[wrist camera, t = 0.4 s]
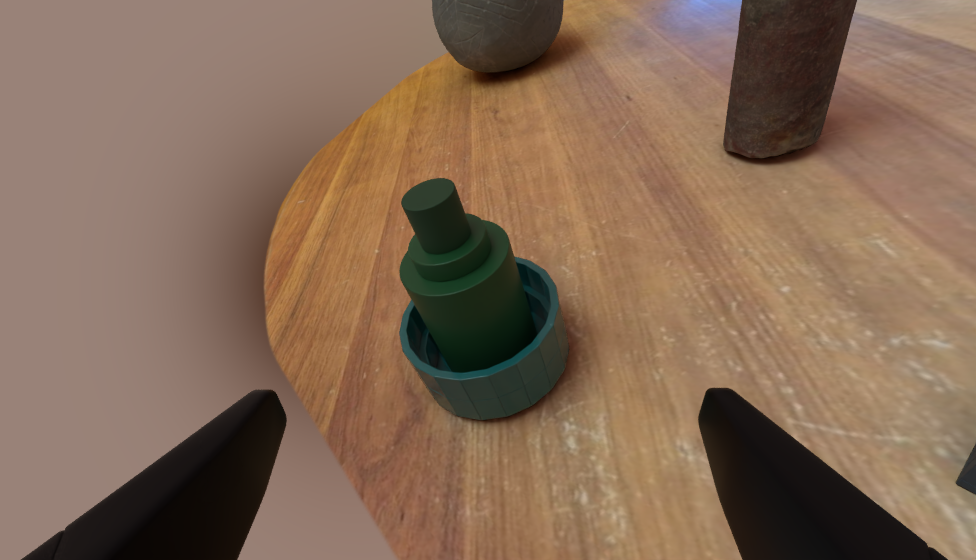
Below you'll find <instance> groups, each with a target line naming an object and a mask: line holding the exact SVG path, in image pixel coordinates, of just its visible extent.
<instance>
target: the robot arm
mask: <svg viewBox="0 0 976 560" xmlns="http://www.w3.org/2000/svg"><path fill="white" fill-rule="evenodd" d="M286 421H287V420H286V414H285V411H284V409H283V407H282V405H281V403H280V400H279V398H278V396H277V394H276V392H274V391H273V390H254V391H252V392H250V393H248V394H247V395H246V396H244V397H243V398H242V399H240V400H239V401H238V402H236V403H235V404H233V405H232V406H231V407H229V408H228V409H227V410H225V411H224V412H223V413H221V414H220V415H218V416H217V417H216V418H214V419H213V420H212V421H210V422H209V423H207V424H206V425H205V426H203V427H202V428H201V429H199V430H198V431H197V432H195V433H194V434H192V435H191V436H190V437H188V438H187V439H186V440H184V441H183V442H182V443H180V444H179V445H178V446H176V447H175V448H173V449H172V450H171V451H169V452H168V453H166V454H165V455H164V456H162V457H161V458H160V459H158V460H157V461H156V462H154V463H153V464H152V465H150V466H149V467H147V468H146V469H145V470H143V471H142V472H141V473H139V474H138V475H136V476H135V477H134V478H133V479H131V480H130V481H128V482H127V483H126V484H124V485H123V486H122V487H120V488H119V489H117V490H116V491H115V492H113V493H112V494H110V495H109V496H108V497H107V498H105V499H104V500H102V501H101V502H100V503H98V504H97V505H95V506H94V507H93V508H91V509H90V510H89V511H87V512H86V513H84V514H83V515H82V516H80V517H79V518H78V519H76V520H75V521H74V522H72V523H71V524H69V525H68V526H67V527H66V528H65V530H64V531H60V532H58V533H57V534H56V535H54V536H53V537H52V538H50V539H49V540H47V541H46V542H45V543H43V544H42V545H41V546H39V547H38V548H37V549H35V550H34V551H32V552H31V553H30V554H28V555H27V556H25V557H24V558H23V559H21V560H237V559H238V557H239V554H240V552H241V549H242V547H243V545H244V542H245V540H246V538H247V535H248V533H249V531H250V528H251V526H252V523H253V521H254V519H255V516H256V514H257V511H258V509H259V507H260V504H261V502H262V499H263V497H264V494H265V491H266V488H267V485H268V482H269V479H270V476H271V473H272V469H273V466H274V463H275V459H276V456H277V453H278V450H279V447H280V444H281V440H282V437H283V434H284V431H285V427H286ZM698 422H699V428H700V432H701V435H702V439H703V443H704V446H705V450H706V453H707V457H708V461H709V464H710V468H711V472H712V475H713V479H714V483H715V486H716V490H717V493H718V496H719V500H720V503H721V505H722V508H723V511H724V514H725V516H726V519H727V521H728V524H729V526H730V529H731V532H732V534H733V537H734V539H735V542H736V544H737V547H738V549H739V552H740V554H741V557H742V559H743V560H948V559H946V558H945V557H944V556H943V555H941V554H940V553H939V552H937V551H936V550H935V549H934V548H931V547H928V546H927V543H926V542H925V541H923V540H922V539H921V538H920V537H918V536H917V535H916V534H914V533H913V532H912V531H911V530H909V529H908V528H907V527H906V526H904V525H903V524H902V523H901V522H899V521H898V520H897V519H895V518H894V517H893V516H892V515H890V514H889V513H888V512H887V511H885V510H884V509H883V508H882V507H880V506H879V505H878V504H876V503H875V502H874V501H873V500H871V499H870V498H869V497H868V496H866V495H865V494H864V493H863V492H861V491H860V490H859V489H858V488H856V487H855V486H854V485H852V484H851V483H850V482H849V481H847V480H846V479H845V478H844V477H842V476H841V475H840V474H839V473H837V472H836V471H835V470H833V469H832V468H831V467H830V466H828V465H827V464H826V463H825V462H823V461H822V460H821V459H820V458H818V457H817V456H816V455H814V454H813V453H812V452H811V451H809V450H808V449H807V448H806V447H804V446H803V445H802V444H801V443H799V442H798V441H797V440H796V439H794V438H793V437H792V436H790V435H789V434H788V433H787V432H785V431H784V430H783V429H782V428H780V427H779V426H778V425H777V424H775V423H774V422H773V421H771V420H770V419H769V418H768V417H766V416H765V415H764V414H763V413H761V412H760V411H759V410H758V409H756V408H755V407H754V406H753V405H751V404H750V403H749V402H747V401H746V400H745V399H744V398H742V397H741V396H740V395H739V394H737V393H736V392H735V391H733V390H732V389H729V388H709V389H708V390H707V391H706V393H705V396H704V399H703V403H702V406H701V409H700V412H699V417H698Z"/></svg>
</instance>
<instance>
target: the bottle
mask: <svg viewBox="0 0 976 560" xmlns="http://www.w3.org/2000/svg"><path fill="white" fill-rule="evenodd" d="M401 204H402V207H403V209H404V211H405V213H406V215H407V217H408V219H409V222H410V224H411V226H412V228H413V230H414V232H415V235H414V236H413V238H412V239H411V241H410V243H409V247H408V251H407V253H406V254H405V256H404V258H403V260H402V262H401V265H400V278H401V281H402V283H403V285H404V287H405V289H406V290H407V292H408V294H409V296H410V298H411V299H412V301H413V303H414V305H415V307H416V308H417V310H418V312H419V314H420V315H421V317H422V319H423V321H424V323H425V324H426V326H427V328H428V330H429V332H430V333H431V335H432V337H433V339H434V341H435V342H436V344H437V346H438V348H439V350H440V351H441V353H442V355H443V357H444V359H445V360H446V362H447V364H448V366H449V368H450V369H451V371H452V372H458V373H464V372H471V371H477V370H483V369H488V368H490V367H493V366H495V365H497V364H499V363H502V362H504V361H506V360H509V359H511V358H513V357H514V356H515V355H517V354H518V353H519V352H520V351H522V350H523V349H524V348H525V347H527V346H528V345H529V344H531V343H532V342H533V340H534V339H535V338H536V336H537V335H538V334H537V331H536V328H535V324H534V321H533V318H532V314H531V311H530V308H529V304H528V301H527V298H526V294H525V291H524V288H523V284H522V281H521V278H520V274H519V271H518V268H517V264H516V261H515V258H514V254H513V251H512V248H511V244H510V241H509V238H508V235H507V234H506V232H505V231H504V230H503V229H502V228H501V227H500V226H498V225H497V224H495V223H493V222H489V221H485V220H481V219H480V218H479V217H477V216H475V215H472V214H466V213H465V212H464V209H463V206H462V204H461V201H460V198H459V196H458V193H457V190H456V187H455V185H454V183H453V182H452V181H451V180H449V179H445V178H437V179H431V180H428V181H425V182H422V183H420V184H418V185H416V186H414V187H413V188H411V189H410V190H409V191H408V192H407V193H406V194H405V195H404V196H403V198H402V202H401Z"/></svg>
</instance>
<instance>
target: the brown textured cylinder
mask: <svg viewBox="0 0 976 560" xmlns="http://www.w3.org/2000/svg"><path fill="white" fill-rule="evenodd" d="M856 2H857V0H742V5H741V13H740V21H739V32H738V38H737V45H736V52H735V60H734V67H733V73H732V80H731V88H730V95H729V102H728V109H727V117H726V125H725V133H724V143H723V145H724V148H725V150H726V151H733V152H735V153H739V154H741V155H743V156H746V157H749V158H766V157H769V156H778V155H781V154H784V153H791V152H793V151H796V150H800V149H803V148H805V147H807V146H810V145H812V144H814V143H816V142H817V140H818V138H819V137H820V135H821V132H822V129H823V125H824V122H825V118H826V114H827V110H828V107H829V104H830V100H831V96H832V92H833V89H834V85H835V81H836V77H837V73H838V69H839V65H840V61H841V58H842V54H843V50H844V46H845V42H846V39H847V35H848V31H849V27H850V23H851V20H852V16H853V13H854V9H855V5H856Z"/></svg>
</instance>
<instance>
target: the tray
mask: <svg viewBox="0 0 976 560" xmlns="http://www.w3.org/2000/svg"><path fill="white" fill-rule="evenodd" d="M956 484H958V485H959V486H961V487H963V488H965V489H967V490H969V491H971V492H973V493H975V494H976V444H975V446H974V448H973V450H972V452H971V454H970V456H969V458H968V460H967V462H966V464H965V466H964V468H963V469H962V471H961V473H960V475H959V477H958V479H957V481H956Z"/></svg>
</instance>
